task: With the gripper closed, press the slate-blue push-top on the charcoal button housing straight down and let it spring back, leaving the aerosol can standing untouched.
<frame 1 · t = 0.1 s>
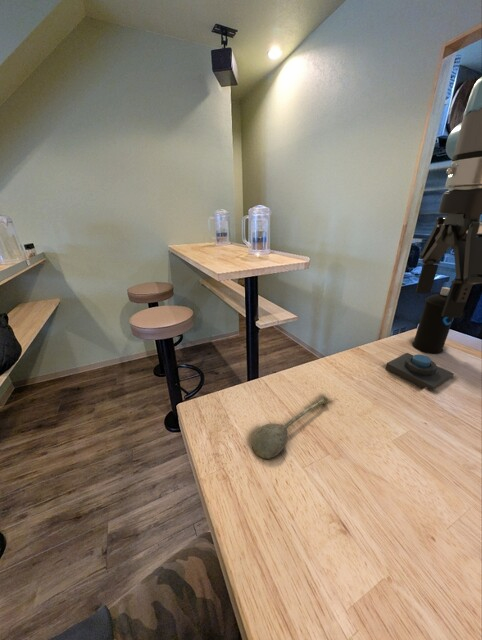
hand: (434, 303, 52), 24 cm above the table, tool pointing down, fingers open, 13 cm apart
push top: (421, 361, 67), point 4 cm above the table, slide at 0.1 cm
aerosol can: (426, 347, 81), on the table
button housing: (416, 374, 69), on the table
soupspoon: (294, 426, 55), on the table
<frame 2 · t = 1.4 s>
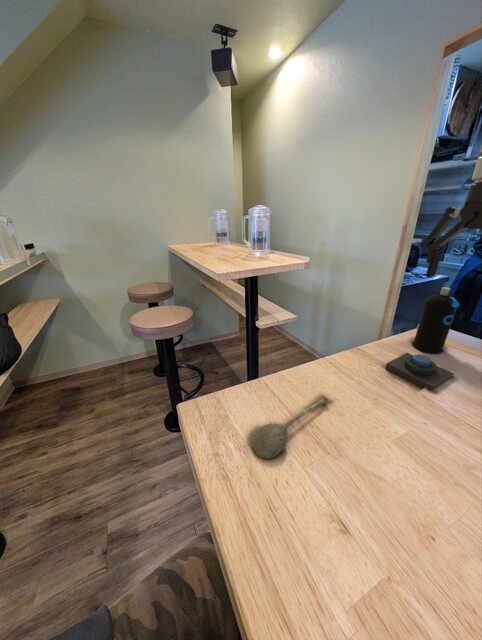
hand: (460, 282, 59), 26 cm above the table, tool pointing down, fingers open, 13 cm apart
nothing on the table moved.
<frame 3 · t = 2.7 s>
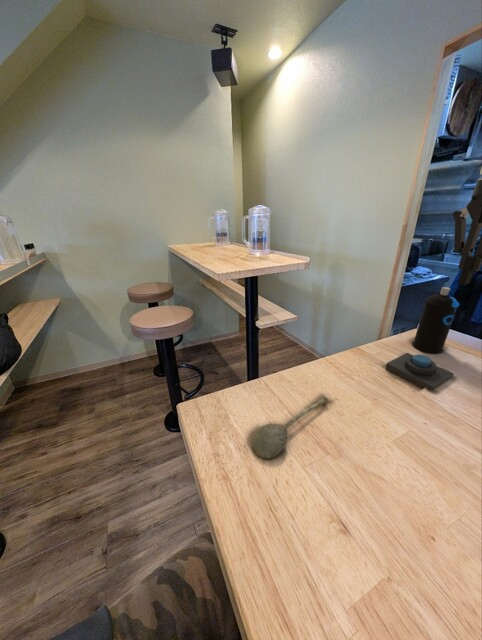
hand: (463, 283, 63), 24 cm above the table, tool pointing down, fingers closed
nothing on the table moved.
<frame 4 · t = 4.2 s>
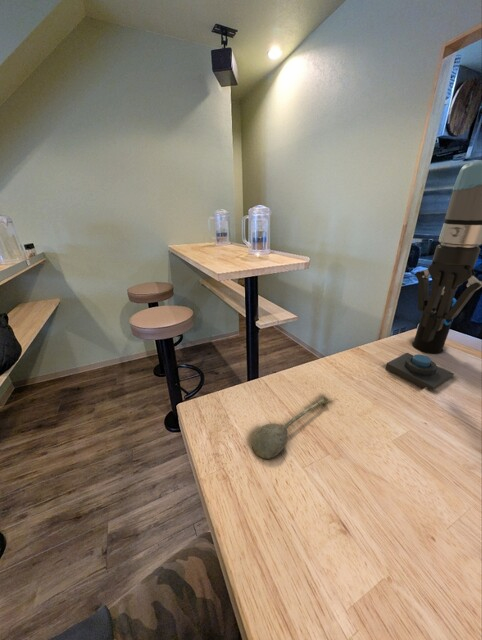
hand: (427, 339, 64), 11 cm above the table, tool pointing down, fingers closed
nothing on the table moved.
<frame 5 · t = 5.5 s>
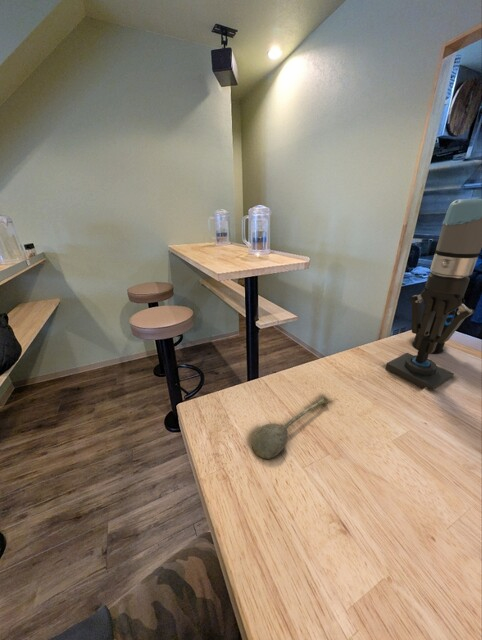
hand: (421, 360, 67), 5 cm above the table, tool pointing down, fingers closed
push top: (420, 364, 67), point 3 cm above the table, slide at -0.9 cm, touching gripper
everything else where it was.
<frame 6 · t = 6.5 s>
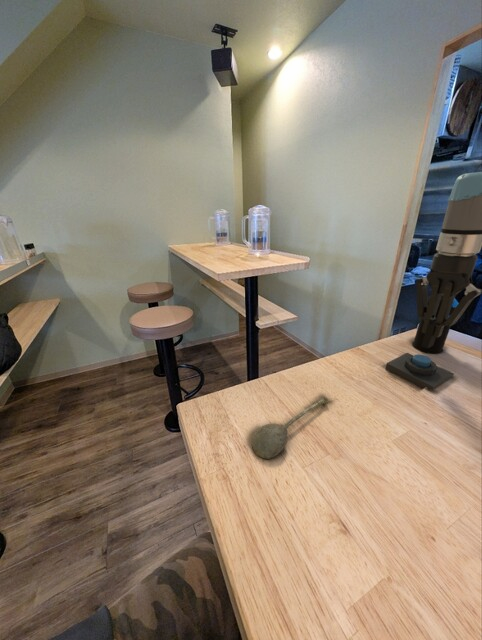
hand: (427, 345, 65), 9 cm above the table, tool pointing down, fingers closed
push top: (421, 361, 67), point 4 cm above the table, slide at 0.1 cm
everything else where it was.
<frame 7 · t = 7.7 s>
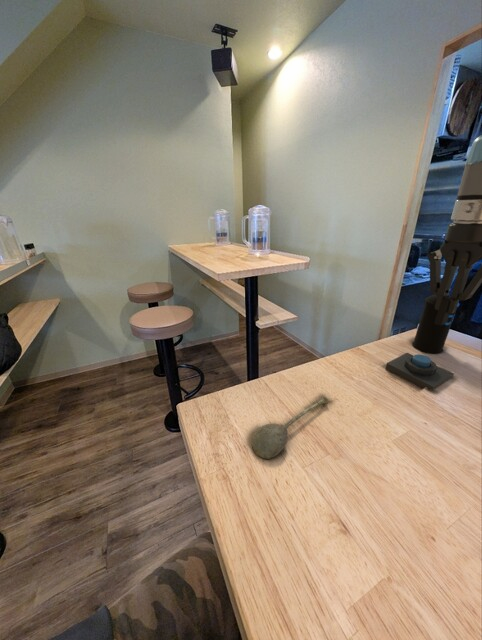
hand: (440, 323, 62), 16 cm above the table, tool pointing down, fingers closed
nothing on the table moved.
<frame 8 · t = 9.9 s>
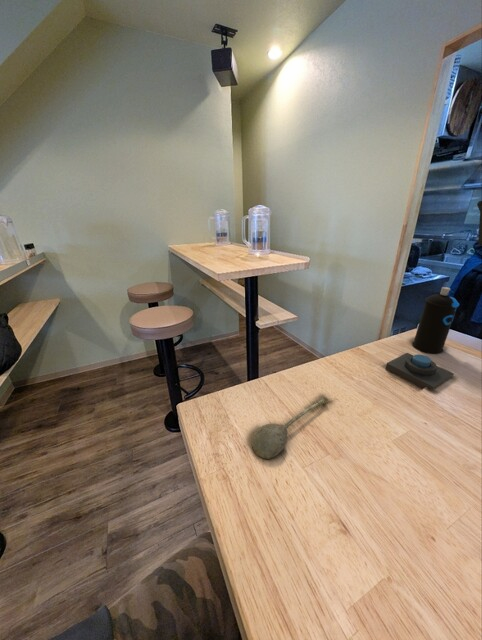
nothing on the table moved.
at the end: push top pushed in 1.0 cm at the most during the clip, back to where it started at the end; push top slide at 0.1 cm; aerosol can moved 0.2 cm from its start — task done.
